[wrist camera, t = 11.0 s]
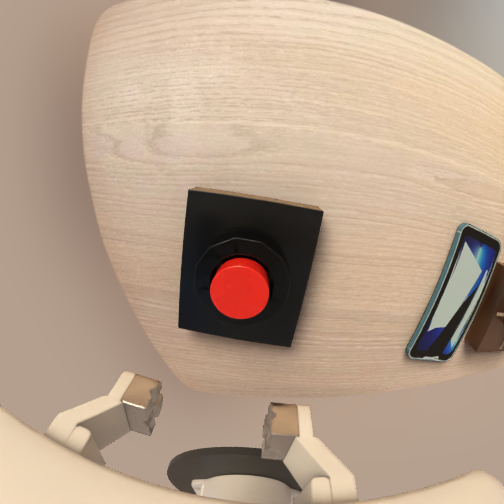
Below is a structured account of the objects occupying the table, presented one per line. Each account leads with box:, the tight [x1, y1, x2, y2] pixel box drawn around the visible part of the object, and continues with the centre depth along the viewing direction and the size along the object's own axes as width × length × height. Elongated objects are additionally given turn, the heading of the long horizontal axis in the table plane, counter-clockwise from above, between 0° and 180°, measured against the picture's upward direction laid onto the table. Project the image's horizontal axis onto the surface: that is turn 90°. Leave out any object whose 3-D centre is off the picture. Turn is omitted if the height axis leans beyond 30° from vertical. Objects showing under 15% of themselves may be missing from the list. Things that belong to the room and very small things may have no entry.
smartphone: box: [406, 223, 501, 362], centre depth 23 cm, size 7×1×15 cm
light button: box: [210, 258, 269, 319], centre depth 20 cm, size 4×4×2 cm
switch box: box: [178, 187, 323, 347], centre depth 22 cm, size 12×10×4 cm
